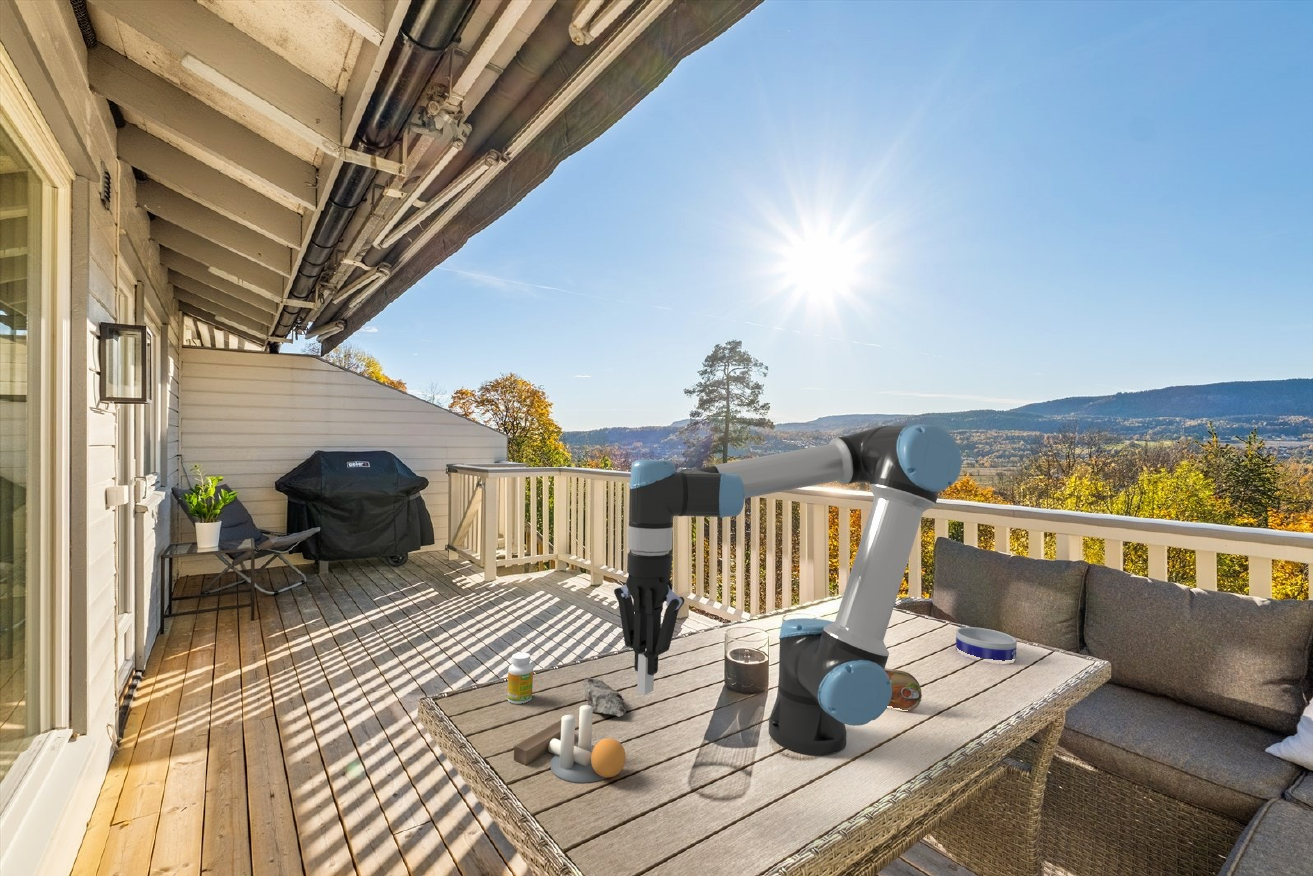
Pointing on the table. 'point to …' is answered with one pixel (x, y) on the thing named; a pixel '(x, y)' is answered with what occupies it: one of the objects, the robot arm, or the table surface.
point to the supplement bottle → (520, 679)
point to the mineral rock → (603, 697)
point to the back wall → (536, 744)
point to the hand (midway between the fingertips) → (645, 692)
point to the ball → (608, 757)
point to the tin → (904, 690)
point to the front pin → (579, 753)
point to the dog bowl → (986, 643)
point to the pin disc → (575, 771)
